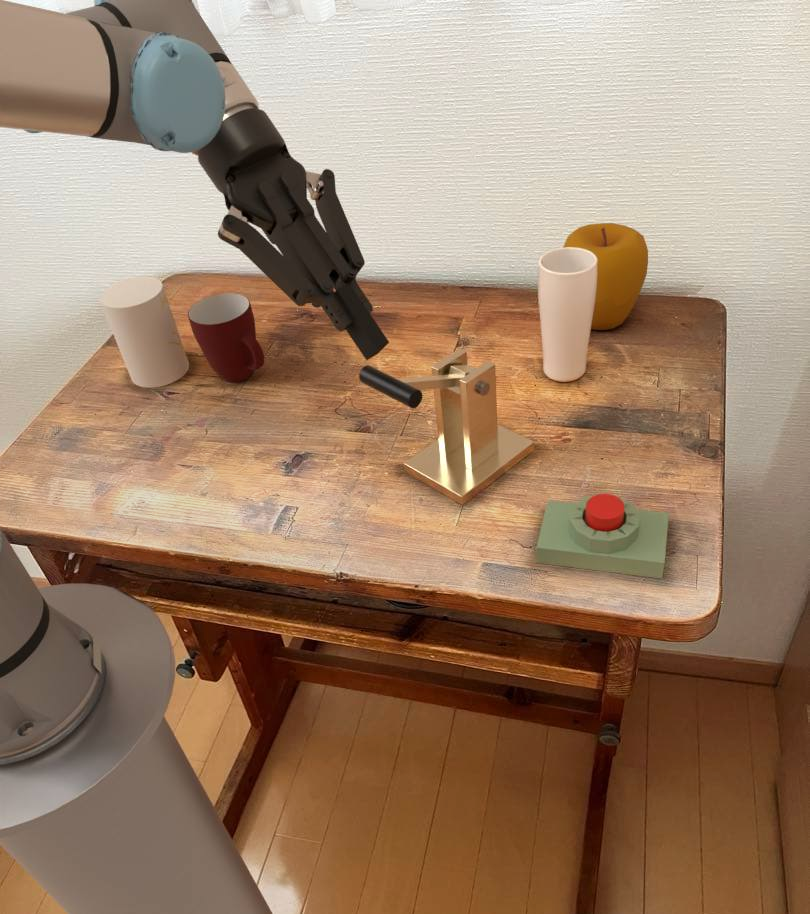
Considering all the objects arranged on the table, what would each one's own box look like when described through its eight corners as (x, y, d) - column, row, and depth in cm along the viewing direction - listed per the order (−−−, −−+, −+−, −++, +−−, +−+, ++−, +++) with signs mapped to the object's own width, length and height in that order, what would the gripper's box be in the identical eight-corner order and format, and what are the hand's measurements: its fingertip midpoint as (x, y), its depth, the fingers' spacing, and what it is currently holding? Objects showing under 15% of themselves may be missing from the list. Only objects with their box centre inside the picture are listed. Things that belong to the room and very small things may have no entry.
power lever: (406, 412, 77) (411, 387, 76) (356, 386, 81) (361, 362, 80) (494, 401, 86) (500, 379, 85) (446, 378, 90) (451, 357, 89)
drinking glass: (528, 365, 107) (528, 255, 97) (576, 352, 108) (581, 241, 98) (550, 392, 102) (553, 279, 92) (601, 378, 103) (609, 265, 93)
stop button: (583, 530, 80) (583, 516, 79) (587, 505, 82) (588, 491, 81) (621, 534, 79) (622, 520, 78) (625, 508, 81) (626, 495, 80)
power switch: (462, 505, 89) (454, 408, 80) (404, 471, 94) (391, 376, 86) (534, 450, 95) (534, 353, 86) (475, 421, 100) (470, 326, 91)
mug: (293, 371, 112) (277, 303, 105) (254, 402, 108) (234, 334, 101) (236, 353, 117) (217, 287, 110) (196, 382, 113) (174, 316, 106)
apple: (640, 299, 116) (649, 207, 107) (643, 341, 108) (653, 246, 99) (560, 300, 118) (562, 210, 109) (557, 341, 110) (559, 248, 101)
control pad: (536, 563, 82) (536, 534, 79) (547, 515, 87) (547, 486, 84) (662, 578, 79) (666, 549, 76) (666, 528, 84) (671, 498, 81)
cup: (197, 372, 114) (171, 292, 106) (142, 394, 112) (110, 314, 103) (177, 348, 120) (150, 270, 111) (123, 369, 117) (92, 291, 109)
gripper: (176, 131, 69) (339, 368, 71) (296, 83, 75) (444, 304, 77) (162, 182, 76) (312, 397, 78) (273, 135, 82) (410, 337, 84)
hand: (377, 351), depth 78 cm, fingers closed
